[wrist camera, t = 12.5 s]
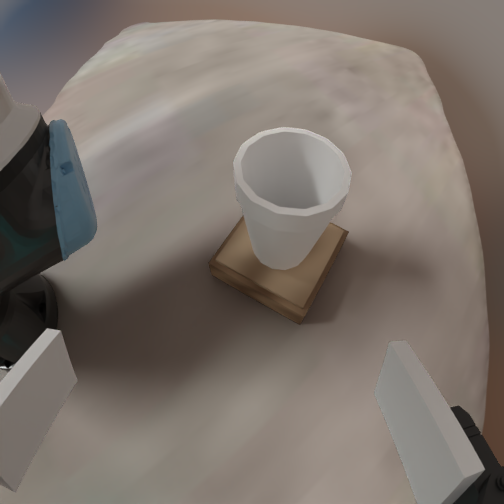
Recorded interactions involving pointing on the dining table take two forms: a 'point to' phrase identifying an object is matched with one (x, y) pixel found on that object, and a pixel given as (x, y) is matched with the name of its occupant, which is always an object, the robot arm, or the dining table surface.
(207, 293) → the dining table surface
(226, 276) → the pedestal
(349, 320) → the dining table surface
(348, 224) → the dining table surface
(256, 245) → the foam cup
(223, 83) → the dining table surface
